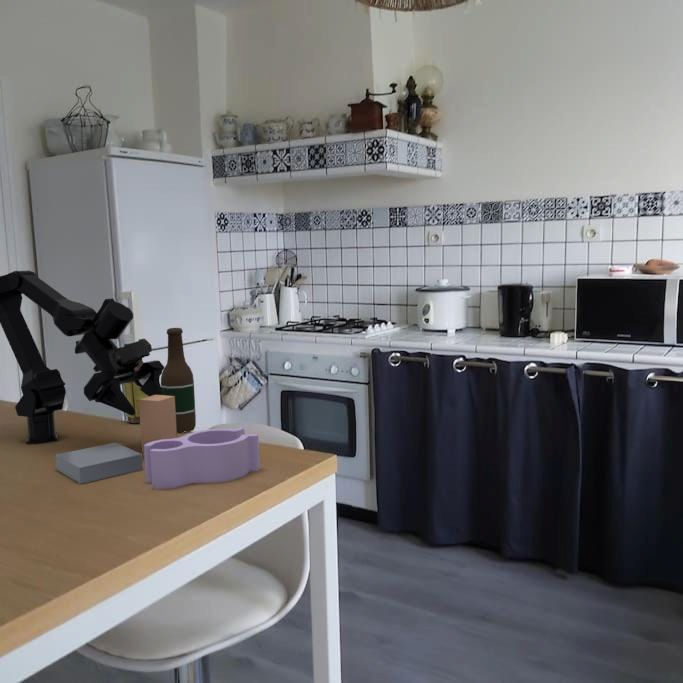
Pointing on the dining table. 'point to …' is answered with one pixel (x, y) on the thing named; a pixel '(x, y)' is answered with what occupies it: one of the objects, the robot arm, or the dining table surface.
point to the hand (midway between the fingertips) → (149, 409)
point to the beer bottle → (179, 382)
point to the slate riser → (98, 462)
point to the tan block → (157, 418)
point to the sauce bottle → (134, 395)
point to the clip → (201, 458)
